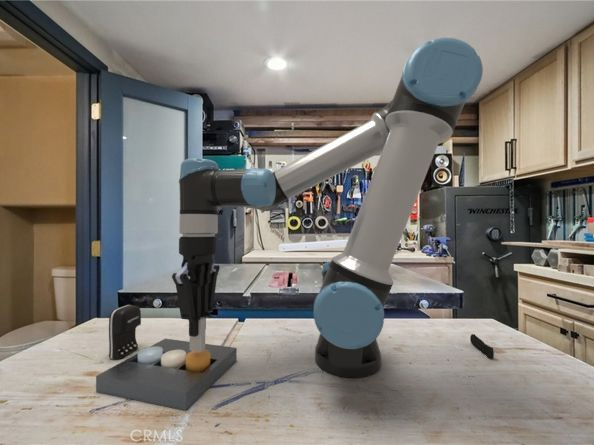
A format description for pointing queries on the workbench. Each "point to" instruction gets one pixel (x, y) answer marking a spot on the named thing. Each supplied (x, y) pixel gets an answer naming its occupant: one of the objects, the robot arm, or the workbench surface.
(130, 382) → the panel
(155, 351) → the pale blue button
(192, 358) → the orange button
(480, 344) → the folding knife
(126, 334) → the battery charger
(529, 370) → the workbench surface
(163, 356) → the ivory button
